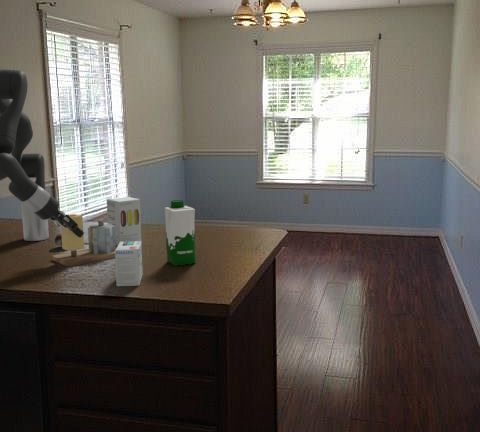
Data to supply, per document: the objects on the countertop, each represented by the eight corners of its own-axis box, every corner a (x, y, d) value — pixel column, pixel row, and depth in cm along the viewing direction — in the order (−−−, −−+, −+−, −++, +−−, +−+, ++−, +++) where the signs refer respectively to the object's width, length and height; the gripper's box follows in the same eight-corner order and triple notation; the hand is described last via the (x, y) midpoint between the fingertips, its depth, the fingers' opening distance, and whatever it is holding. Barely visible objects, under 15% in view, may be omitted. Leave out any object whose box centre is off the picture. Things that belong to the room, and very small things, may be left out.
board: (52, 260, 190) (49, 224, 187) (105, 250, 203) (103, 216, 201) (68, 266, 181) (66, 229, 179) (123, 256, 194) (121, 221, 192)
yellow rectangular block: (62, 248, 188) (60, 215, 186) (76, 246, 191) (75, 213, 189) (69, 251, 184) (67, 217, 182) (84, 248, 187) (82, 215, 186)
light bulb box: (120, 276, 170) (118, 241, 168) (143, 275, 171) (141, 240, 169) (115, 286, 160) (114, 249, 158) (140, 286, 160) (138, 248, 158)
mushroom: (69, 242, 201) (67, 226, 204) (50, 249, 203) (49, 234, 206) (83, 248, 208) (81, 233, 211) (65, 255, 210) (63, 240, 213)
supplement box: (119, 247, 207) (117, 201, 204) (107, 243, 214) (105, 198, 211) (142, 243, 213) (140, 198, 210) (129, 239, 220) (127, 196, 217)
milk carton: (188, 257, 191) (186, 199, 187) (199, 264, 183) (197, 202, 179) (163, 261, 187) (161, 201, 183) (173, 267, 179) (171, 204, 175)
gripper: (57, 195, 174) (95, 228, 184) (38, 190, 185) (74, 222, 195) (42, 214, 171) (81, 246, 182) (23, 208, 182) (61, 239, 192)
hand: (77, 233), depth 188 cm, fingers closed on yellow rectangular block, 5 cm apart
